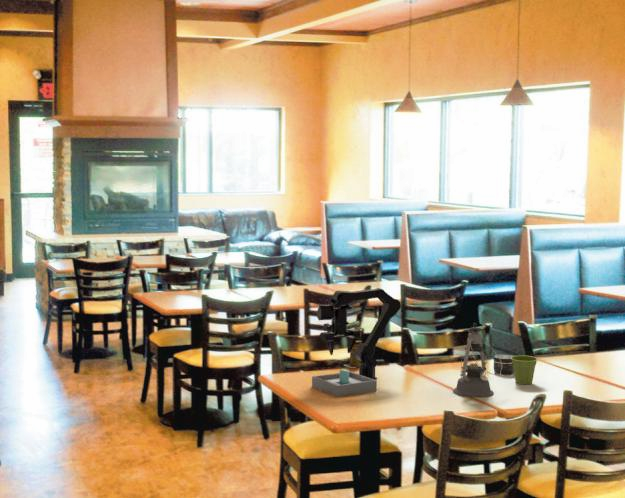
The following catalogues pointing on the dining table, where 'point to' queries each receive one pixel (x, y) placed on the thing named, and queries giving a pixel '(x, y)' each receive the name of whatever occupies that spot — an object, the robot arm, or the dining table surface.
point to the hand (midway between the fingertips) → (340, 353)
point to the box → (333, 386)
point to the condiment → (353, 360)
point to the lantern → (474, 370)
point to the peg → (344, 377)
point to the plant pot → (524, 368)
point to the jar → (503, 364)
